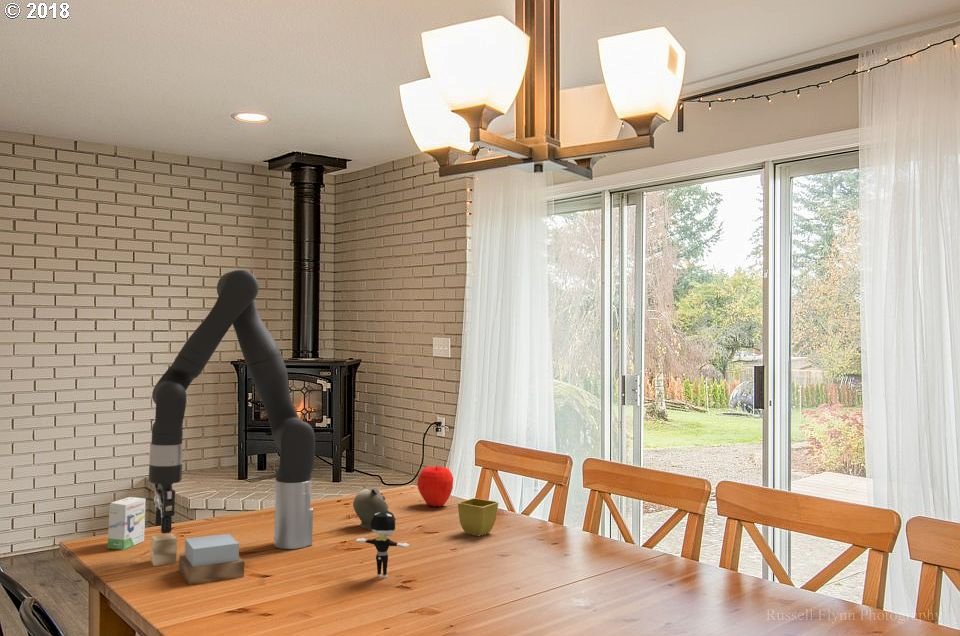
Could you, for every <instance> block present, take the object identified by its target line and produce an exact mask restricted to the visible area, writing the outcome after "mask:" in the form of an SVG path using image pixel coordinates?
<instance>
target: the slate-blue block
mask: <svg viewBox="0 0 960 636" xmlns="http://www.w3.org/2000/svg"><path fill="white" fill-rule="evenodd" d="M239 551H240V543H239V542H238V541H237V540H236V539H235V538H234V537H233V536H232V535H231V534H230V533H222V534H212V535H205V536H197V537H187V538H185V539H184V555H185V557H186V558H187V559H188V561H189V562H190V564H191V565H192V566H193V567H198V566H205V565H212V564H219V563H226V562H234V561H239V556H240V553H239Z"/></svg>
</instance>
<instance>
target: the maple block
mask: <svg viewBox="0 0 960 636" xmlns="http://www.w3.org/2000/svg"><path fill="white" fill-rule="evenodd" d="M150 540H151V543H150V544H151V548H150V562H151V564H152V566H154V567H157V566H165V565H172V564H177V550H178V549H177V548H178V547H177V542H178V538H177V537H176V536H175V534H174V533H166V534H159V535H152V536H151V539H150Z"/></svg>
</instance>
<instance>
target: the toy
mask: <svg viewBox="0 0 960 636" xmlns="http://www.w3.org/2000/svg"><path fill="white" fill-rule="evenodd" d="M396 521H397V520H396V517H395V515H394V513H393V512H392V511H389V510H388V511H383V512H379V513H376V514H375V515H374V516H373V518H372V520H371V529H372V530H371V531H372V532H373V533H375V534H377V535H378V537H376V538H372V539H370V538H369V539H366V538H365V537H362V538H361V537H360V538H357V539H356V540H355V541H356V542H357V543H361V544H362V543H365V544H369V545H373V546H374V547H375V549H376V550H377V552H376V555H375V560H376V571H377V573H376V574H377V577H376V578H381V577H382V578H383V579H386V578H387V577H388V573H387V572H388V564H389V563H388V562H389V552H388V550H389V548H390V547H399V548H407V547H409V546H410V544H409V543H408V542H396V541H393V540H391V539H390V538H388V537H392V535H393V534H394V532H395V530H396Z"/></svg>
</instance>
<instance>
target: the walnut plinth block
mask: <svg viewBox="0 0 960 636" xmlns="http://www.w3.org/2000/svg"><path fill="white" fill-rule="evenodd" d="M178 560H179V565H178V566H179V567H178V571H179V572H180V574H181V575H182V577H183V578H184V580H185V581H186V582H187V584H188V585H189V586H191V585H198V584H204V583H210V582H219V581H224V580H232V579H239V578H244V577H245V560H244V559H243V558H242V557H241V556H240V555H239V561H234V562H226V563H219V564H212V565H205V566H198V567H193V566H192V565H191V564H190V562H189V561H188V559H187V558H186V557H185V554H180V555H179V559H178Z"/></svg>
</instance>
